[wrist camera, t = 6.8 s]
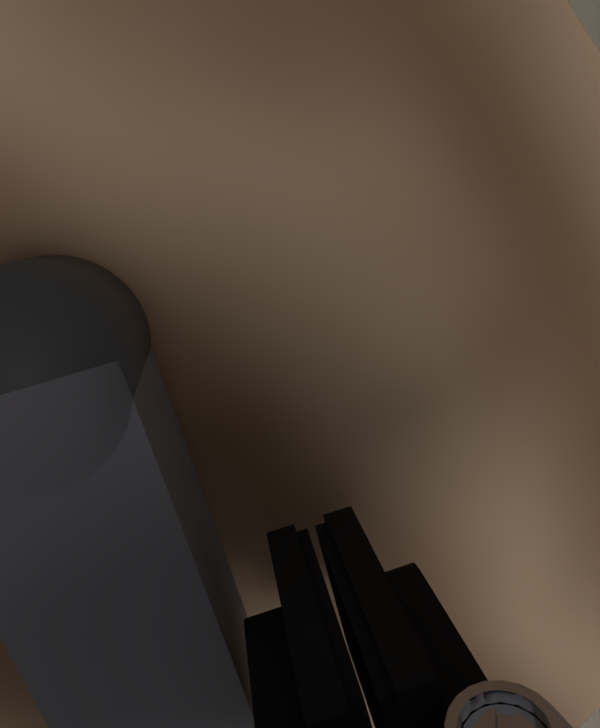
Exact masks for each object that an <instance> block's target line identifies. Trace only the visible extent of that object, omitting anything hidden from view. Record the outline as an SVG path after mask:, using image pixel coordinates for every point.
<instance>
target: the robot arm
mask: <svg viewBox="0 0 600 728" xmlns="http://www.w3.org/2000/svg"><path fill="white" fill-rule="evenodd" d="M323 516H324V521H325V523H321V524H318V525H315V528H316V532H317V536H318V540H319V543H320V547H321V551H322V554H323V558H324V562H325V565H326V569H327V573H328V576H329V580H330V584H331V587H332V591H333V595H334V598H335V602H336V606H337V609H338V613H339V617H340V620H341V624H342V628H343V632H344V635H345V639H346V642H347V645H348V649H349V652H350V655H351V658H352V661H353V663H352V661H351V658H350V655H349V652H348V649H347V646H346V643H345V640H344V637H343V634H342V631H341V628H340V625H339V622H338V619H337V616H336V613H335V610H334V607H333V604H332V601H331V598H330V595H329V592H328V589H327V586H326V583H325V580H324V577H323V574H322V571H321V568H320V565H319V562H318V559H317V556H316V553H315V550H314V547H313V544H312V541H311V538H310V535H309V532H308V530H307V528H306V529H303V530H300V531H297V532H296V529H295V526H294V524H292V525H289V526H286V527H283V528H280V529H277V530H273V531H270V532H267V533H266V534H267V539H268V544H269V549H270V554H271V559H272V564H273V569H274V573H275V578H276V583H277V588H278V593H279V598H280V603H281V607H278V608H275V609H272V610H269V611H266V612H263V613H260V614H257V615H254V616H251V617H248V618H245V619H244V630H245V640H246V650H247V659H248V669H249V678H250V688H251V698H252V707H253V717H254V727H255V728H372V724H371V721H370V717H369V714H368V710H367V707H366V704H365V700H364V697H363V694H362V691H361V688H362V690H363V693H364V696H365V699H366V702H367V705H368V708H369V711H370V714H371V717H372V720H373V723H374V726H375V728H573V727H572V726H571V725H570V724H569V723H568V722H567V721H566V719H565V718H564V717H563V716H562V715H561V714H560V713H559V712H558V711H557V710H556V709H555V708H554V707H553V705H552V704H550V703H549V702H548V701H547V700H546V699H544V698H543V697H542V696H541V695H540V694H538V693H537V692H536V691H534V690H532V689H530V688H527V687H525V686H523V685H521V684H519V683H514V682H509V681H504V680H491V681H488V679H487V678H486V676H485V675H484V673H483V671H482V670H481V668H480V666H479V665H478V663H477V662H476V660H475V658H474V657H473V655H472V653H471V652H470V650H469V649H468V647H467V645H466V644H465V642H464V640H463V639H462V637H461V636H460V634H459V632H458V631H457V629H456V627H455V626H454V624H453V622H452V621H451V619H450V618H449V616H448V614H447V613H446V611H445V609H444V608H443V606H442V605H441V603H440V601H439V600H438V598H437V596H436V595H435V593H434V592H433V590H432V588H431V587H430V585H429V583H428V582H427V580H426V579H425V577H424V575H423V574H422V572H421V570H420V569H419V568H418V566H417V565H416V564H415V563H414V562H413V563H410V564H407V565H404V566H401V567H398V568H395V569H392V570H389V571H386V572H385V571H384V569H383V567H382V565H381V563H380V561H379V560H378V558H377V556H376V554H375V552H374V550H373V548H372V546H371V544H370V542H369V540H368V538H367V536H366V534H365V532H364V530H363V528H362V526H361V524H360V522H359V520H358V519H357V517H356V515H355V513H354V511H353V509H352V507H351V506H349V507H346V508H342V509H339V510H336V511H333V512H330V513H327V514H324V515H323ZM353 664H354V666H353ZM354 667H355V669H354ZM355 670H356V672H355ZM356 673H357V675H356ZM357 676H358V678H357ZM358 679H359V681H358ZM359 682H360V684H359ZM360 685H361V687H360Z"/></svg>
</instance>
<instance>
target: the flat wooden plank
mask: <svg viewBox="0 0 600 728" xmlns="http://www.w3.org/2000/svg"><path fill="white" fill-rule="evenodd" d="M44 255H65V256H71V257H77V258H80V259H84V260H87V261H90V262H92V263H94V264H97V265H99V266H101V267H103V268H104V269H106V270H108V271H109V272H111V273H112V274H114V275H115V276H116V277H118V278H119V279H120V280H121V281H122V282H123V283H124V284H125V285H126V286H127V287H128V288H129V289H130V290H131V291H132V293H133V294H134V295H135V296H136V298H137V299H138V301H139V303H140V304H141V306H142V308H143V310H144V313H145V315H146V317H147V321H148V324H149V328H150V335H151V348H152V351H153V354H154V357H155V359H156V362H157V365H158V368H159V371H160V373H161V376H162V379H163V382H164V385H165V387H166V390H167V393H168V396H169V398H170V401H171V404H172V407H173V410H174V412H175V415H176V418H177V421H178V424H179V426H180V429H181V432H182V435H183V438H184V440H185V443H186V446H187V449H188V452H189V454H190V457H191V460H192V463H193V466H194V468H195V471H196V474H197V477H198V480H199V482H200V485H201V488H202V491H203V494H204V496H205V499H206V502H207V505H208V508H209V510H210V513H211V516H212V519H213V522H214V524H215V527H216V530H217V533H218V536H219V538H220V541H221V544H222V547H223V550H224V552H225V555H226V558H227V561H228V564H229V566H230V569H231V572H232V575H233V578H234V580H235V583H236V586H237V589H238V591H239V594H240V597H241V600H242V603H243V605H244V608H245V611H246V614H247V617H251V616H254V615H257V614H260V613H263V612H266V611H269V610H272V609H275V608H278V607H281V603H280V598H279V593H278V588H277V583H276V578H275V573H274V569H273V564H272V559H271V554H270V549H269V544H268V539H267V534H266V533H267V532H270V531H273V530H277V529H280V528H283V527H286V526H289V525H292V524H294V526H295V529H296V532H297V531H300V530H303V529H306V528H307V530H308V532H309V535H310V538H311V541H312V544H313V547H314V550H315V553H316V556H317V559H318V562H319V565H320V568H321V571H322V574H323V577H324V580H325V583H326V586H327V589H328V592H329V595H330V598H331V601H332V604H333V607H334V610H335V613H336V616H337V619H338V622H339V625H340V628H341V631H342V634H343V637H344V640H345V643H346V646H347V649H348V645H347V642H346V639H345V635H344V632H343V628H342V624H341V620H340V617H339V613H338V609H337V606H336V602H335V598H334V595H333V591H332V587H331V584H330V580H329V576H328V573H327V569H326V565H325V562H324V558H323V554H322V551H321V547H320V543H319V540H318V536H317V532H316V528H315V525H318V524H321V523H325V521H324V516H323V515H324V514H327V513H330V512H333V511H336V510H339V509H342V508H346V507H349V506H351V507H352V509H353V511H354V513H355V515H356V517H357V519H358V520H359V522H360V524H361V526H362V528H363V530H364V532H365V534H366V536H367V538H368V540H369V542H370V544H371V546H372V548H373V550H374V552H375V554H376V556H377V558H378V560H379V561H380V563H381V565H382V567H383V569H384V571H385V572H386V571H389V570H392V569H395V568H398V567H401V566H404V565H407V564H410V563H413V562H414V563H415V564H416V565H417V566H418V568H419V569H420V570H421V572H422V574H423V575H424V577H425V579H426V580H427V582H428V583H429V585H430V587H431V588H432V590H433V592H434V593H435V595H436V596H437V598H438V600H439V601H440V603H441V605H442V606H443V608H444V609H445V611H446V613H447V614H448V616H449V618H450V619H451V621H452V622H453V624H454V626H455V627H456V629H457V631H458V632H459V634H460V636H461V637H462V639H463V640H464V642H465V644H466V645H467V647H468V649H469V650H470V652H471V653H472V655H473V657H474V658H475V660H476V662H477V663H478V665H479V666H480V668H481V670H482V671H483V673H484V675H485V676H486V678H487V679H488V681H491V680H504V681H509V682H514V683H519V684H521V685H523V686H525V687H527V688H530V689H532V690H534V691H536V692H537V693H538V694H540V695H541V696H542V697H543V698H544V699H546V700H547V701H548V702H549V703H550V704H552V705H553V707H554V708H555V709H556V710H557V711H558V712H559V713H560V714H561V715H562V716H563V717H564V718H565V719H566V721H567V722H568V723H569V724H570V725H571V726H572V727H573V728H579V727H580V726H581V725H582V724H583V723H584V722H585V721H586V720H587V719H588V718H589V717H590V716H592V715H593V714H594V713H595V712H596V711H597V710H598V709H599V708H600V51H599V50H598V48H597V47H596V45H595V43H594V42H593V40H592V39H591V37H590V35H589V34H588V32H587V31H586V29H585V27H584V26H583V24H582V23H581V21H580V19H579V18H578V16H577V15H576V13H575V12H574V10H573V8H572V7H571V5H570V4H569V2H568V0H0V264H5V263H9V262H14V261H18V260H23V259H27V258H32V257H37V256H44ZM348 652H349V649H348ZM349 655H350V652H349ZM350 658H351V655H350ZM351 661H352V658H351ZM352 663H353V661H352ZM353 666H354V664H353ZM354 669H355V667H354ZM355 672H356V670H355ZM356 675H357V673H356ZM357 678H358V676H357ZM358 681H359V679H358ZM359 684H360V682H359ZM360 687H361V685H360ZM361 691H362V694H363V697H364V700H365V704H366V707H367V710H368V714H369V717H370V721H371V724H372V728H375V726H374V723H373V720H372V717H371V714H370V711H369V708H368V705H367V702H366V699H365V696H364V693H363V690H362V688H361ZM0 728H49V727H48V725H47V723H46V722H45V720H44V718H43V716H42V714H41V712H40V710H39V708H38V707H37V705H36V703H35V701H34V699H33V697H32V695H31V694H30V692H29V690H28V688H27V686H26V684H25V682H24V680H23V679H22V677H21V675H20V673H19V671H18V669H17V667H16V666H15V664H14V662H13V660H12V658H11V656H10V654H9V652H8V651H7V649H6V647H5V645H4V643H3V641H2V639H1V638H0Z"/></svg>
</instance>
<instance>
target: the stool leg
mask: <svg viewBox="0 0 600 728" xmlns="http://www.w3.org/2000/svg"><path fill="white" fill-rule="evenodd" d="M245 618H248V617H247V614H246V611H245V608H244V605H243V603H242V600H241V597H240V594H239V591H238V589H237V586H236V583H235V580H234V578H233V575H232V572H231V569H230V566H229V564H228V561H227V558H226V555H225V552H224V550H223V547H222V544H221V541H220V538H219V536H218V533H217V530H216V527H215V524H214V522H213V519H212V516H211V513H210V510H209V508H208V505H207V502H206V499H205V496H204V494H203V491H202V488H201V485H200V482H199V480H198V477H197V474H196V471H195V468H194V466H193V463H192V460H191V457H190V454H189V452H188V449H187V446H186V443H185V440H184V438H183V435H182V432H181V429H180V426H179V424H178V421H177V418H176V415H175V412H174V410H173V407H172V404H171V401H170V398H169V396H168V393H167V390H166V387H165V385H164V382H163V379H162V376H161V373H160V371H159V368H158V365H157V362H156V359H155V357H154V354H153V351H152V348H151V335H150V328H149V324H148V321H147V317H146V315H145V313H144V310H143V308H142V306H141V304H140V303H139V301H138V299H137V298H136V296H135V295H134V294H133V293H132V291H131V290H130V289H129V288H128V287H127V286H126V285H125V284H124V283H123V282H122V281H121V280H120V279H119V278H118V277H116V276H115V275H114V274H112V273H111V272H109V271H108V270H106V269H104V268H103V267H101V266H99V265H97V264H94V263H92V262H90V261H87V260H84V259H80V258H77V257H71V256H65V255H44V256H37V257H32V258H27V259H23V260H18V261H14V262H9V263H5V264H0V638H1V639H2V641H3V643H4V645H5V647H6V649H7V651H8V652H9V654H10V656H11V658H12V660H13V662H14V664H15V666H16V667H17V669H18V671H19V673H20V675H21V677H22V679H23V680H24V682H25V684H26V686H27V688H28V690H29V692H30V694H31V695H32V697H33V699H34V701H35V703H36V705H37V707H38V708H39V710H40V712H41V714H42V716H43V718H44V720H45V722H46V723H47V725H48V727H49V728H255V727H254V717H253V707H252V698H251V688H250V678H249V669H248V659H247V650H246V640H245V630H244V619H245Z"/></svg>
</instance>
